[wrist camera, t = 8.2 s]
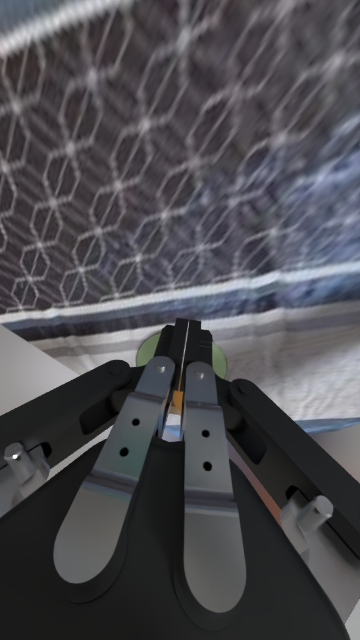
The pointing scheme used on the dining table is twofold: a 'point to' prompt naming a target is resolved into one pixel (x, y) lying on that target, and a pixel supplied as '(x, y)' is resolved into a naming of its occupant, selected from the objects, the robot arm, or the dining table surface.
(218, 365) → the green mark
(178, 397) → the orange ball
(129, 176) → the dining table surface
